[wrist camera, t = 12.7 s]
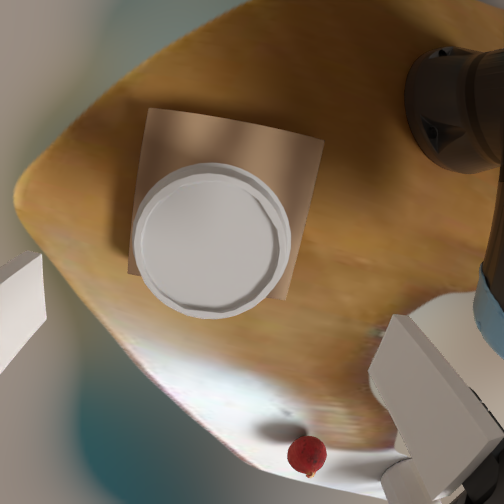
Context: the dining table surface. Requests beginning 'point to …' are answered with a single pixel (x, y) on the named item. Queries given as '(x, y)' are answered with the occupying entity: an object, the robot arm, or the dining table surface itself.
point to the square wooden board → (236, 154)
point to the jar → (405, 485)
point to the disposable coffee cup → (211, 240)
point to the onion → (307, 455)
